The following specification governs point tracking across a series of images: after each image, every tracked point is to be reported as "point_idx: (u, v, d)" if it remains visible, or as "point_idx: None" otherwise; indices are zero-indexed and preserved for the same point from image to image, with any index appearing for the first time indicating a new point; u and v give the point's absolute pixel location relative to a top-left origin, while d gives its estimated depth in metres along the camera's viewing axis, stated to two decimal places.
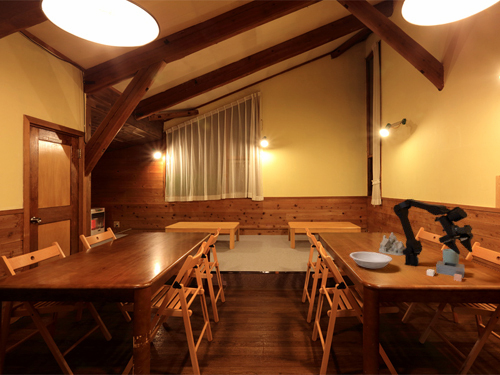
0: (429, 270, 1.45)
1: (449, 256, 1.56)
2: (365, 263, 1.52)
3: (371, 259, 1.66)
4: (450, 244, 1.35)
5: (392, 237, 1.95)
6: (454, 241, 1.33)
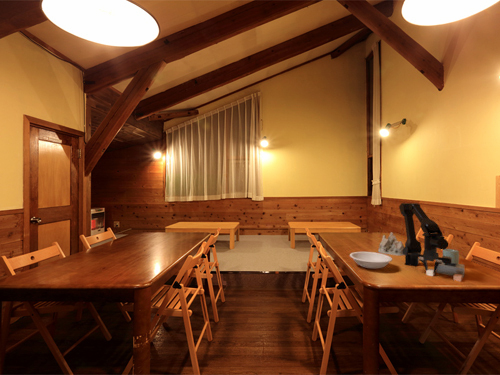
0: (429, 270, 1.45)
1: (449, 256, 1.56)
2: (365, 263, 1.52)
3: (371, 259, 1.66)
4: None
5: (391, 237, 1.95)
6: (423, 261, 1.45)
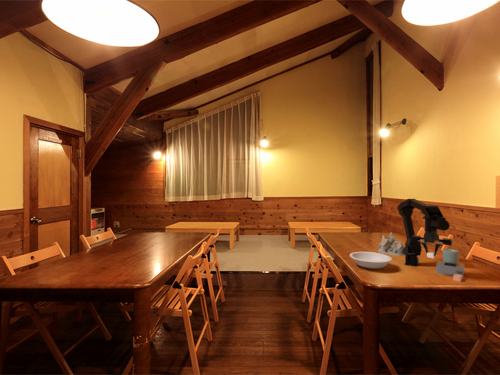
0: (430, 252, 1.45)
1: (449, 256, 1.56)
2: (365, 263, 1.52)
3: (371, 259, 1.66)
4: None
5: (391, 237, 1.94)
6: (423, 244, 1.45)
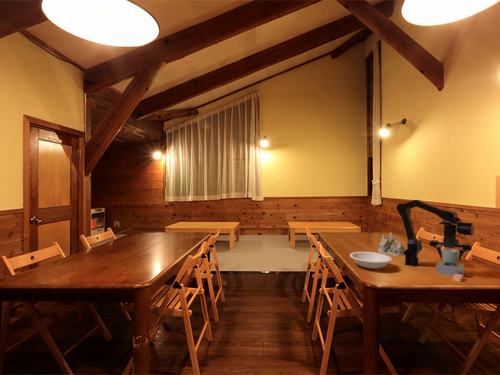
0: None
1: (449, 256, 1.56)
2: (365, 263, 1.52)
3: (371, 259, 1.66)
4: None
5: (391, 237, 1.94)
6: (437, 248, 1.48)
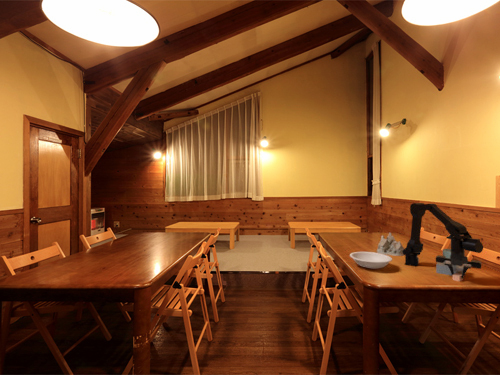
0: None
1: (449, 256, 1.56)
2: (365, 263, 1.52)
3: (371, 259, 1.66)
4: None
5: (390, 237, 1.94)
6: (449, 266, 1.37)
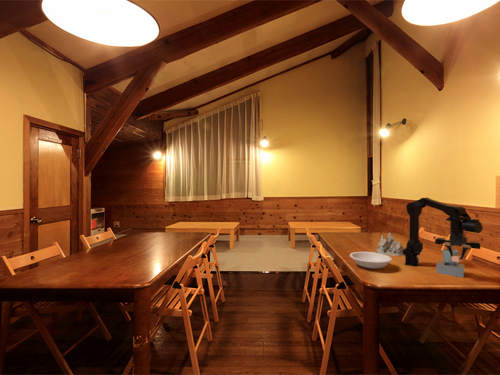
0: None
1: (449, 256, 1.56)
2: (365, 263, 1.52)
3: (371, 259, 1.66)
4: None
5: (390, 237, 1.94)
6: (448, 247, 1.38)
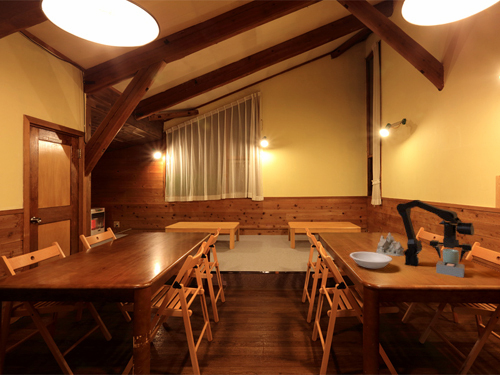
0: None
1: (449, 256, 1.56)
2: (365, 263, 1.52)
3: (371, 259, 1.66)
4: None
5: (390, 237, 1.93)
6: (436, 248, 1.49)
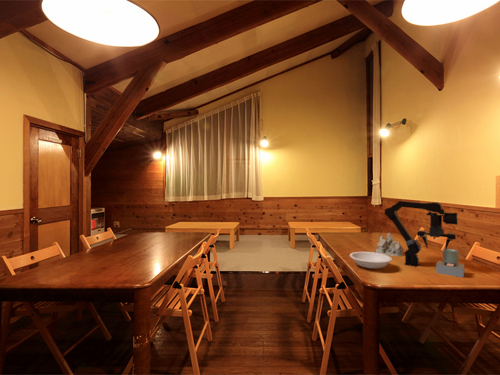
0: None
1: (449, 256, 1.56)
2: (365, 263, 1.52)
3: (371, 259, 1.66)
4: None
5: (389, 238, 1.93)
6: (423, 238, 1.57)
